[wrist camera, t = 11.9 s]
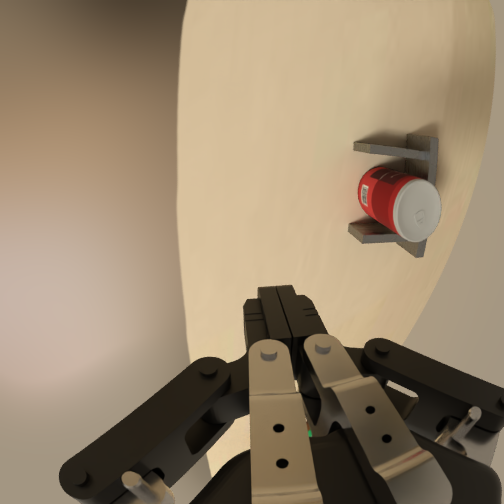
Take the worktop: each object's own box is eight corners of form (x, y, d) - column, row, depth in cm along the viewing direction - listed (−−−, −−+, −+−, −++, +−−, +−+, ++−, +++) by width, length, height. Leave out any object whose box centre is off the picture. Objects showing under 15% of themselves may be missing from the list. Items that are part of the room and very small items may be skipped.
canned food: (373, 226, 41) (412, 254, 31) (345, 188, 39) (384, 208, 29) (405, 195, 40) (449, 215, 30) (380, 156, 37) (426, 166, 27)
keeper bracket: (346, 245, 42) (363, 262, 37) (353, 126, 35) (374, 126, 30) (403, 242, 43) (423, 257, 38) (414, 135, 36) (438, 138, 30)
